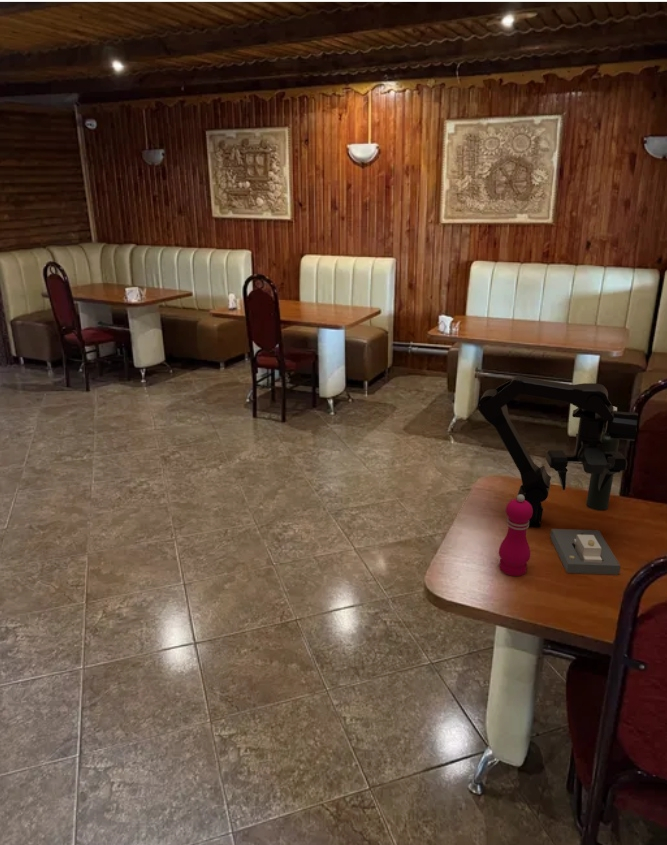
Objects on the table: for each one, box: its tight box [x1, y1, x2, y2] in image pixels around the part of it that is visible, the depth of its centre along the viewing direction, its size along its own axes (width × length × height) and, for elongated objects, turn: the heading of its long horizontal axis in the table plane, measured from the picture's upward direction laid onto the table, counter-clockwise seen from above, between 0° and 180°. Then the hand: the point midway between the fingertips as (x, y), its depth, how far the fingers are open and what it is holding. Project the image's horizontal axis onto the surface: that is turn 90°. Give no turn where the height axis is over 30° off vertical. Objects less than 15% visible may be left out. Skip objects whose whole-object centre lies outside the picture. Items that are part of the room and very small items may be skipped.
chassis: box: [550, 528, 621, 576], centre depth 156 cm, size 12×16×3 cm
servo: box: [574, 532, 602, 563], centre depth 153 cm, size 4×9×6 cm, turn 176°
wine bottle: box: [585, 406, 620, 511], centre depth 175 cm, size 6×6×30 cm
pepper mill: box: [498, 494, 533, 577], centre depth 148 cm, size 7×7×20 cm
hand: (581, 489), depth 163 cm, fingers open, 9 cm apart
